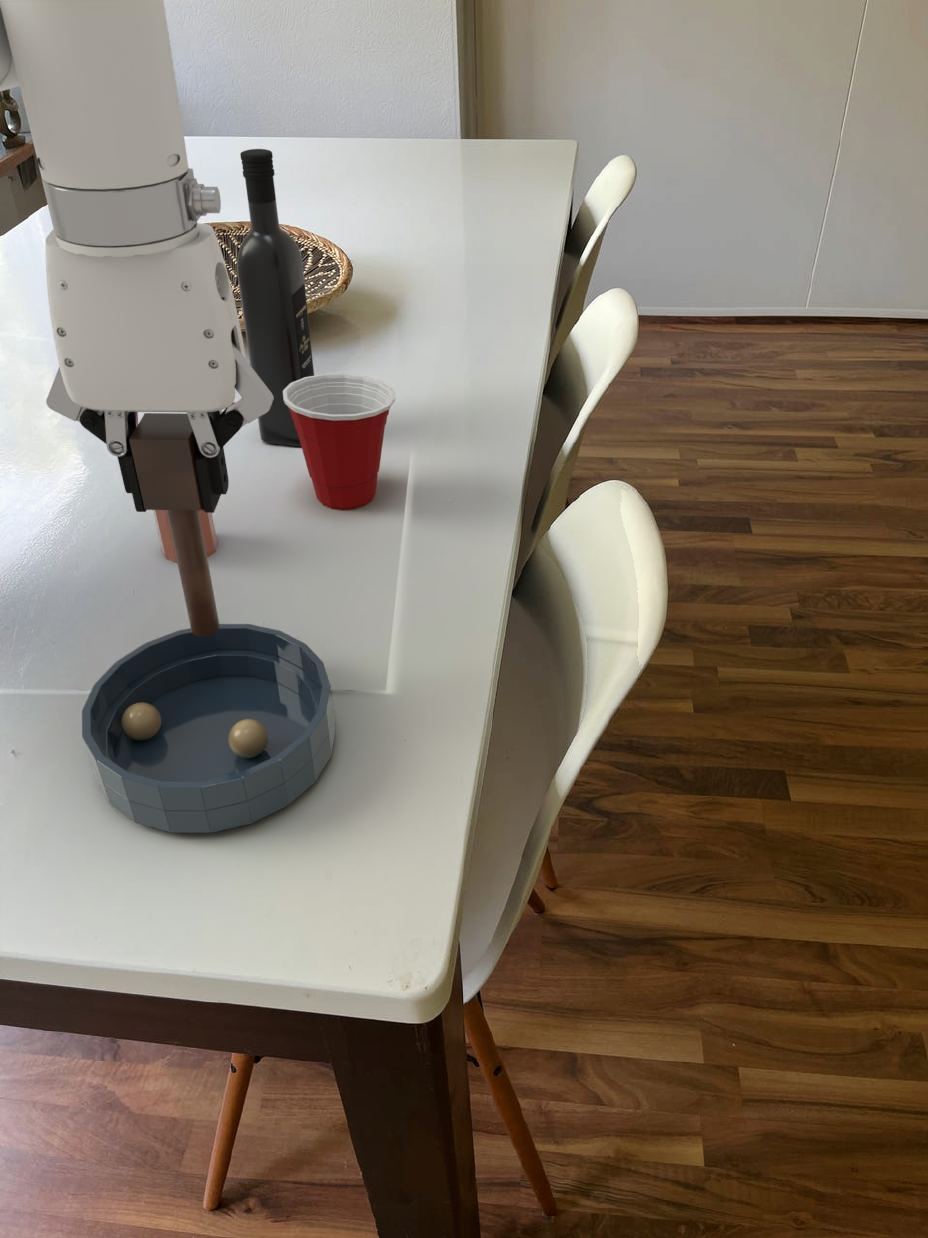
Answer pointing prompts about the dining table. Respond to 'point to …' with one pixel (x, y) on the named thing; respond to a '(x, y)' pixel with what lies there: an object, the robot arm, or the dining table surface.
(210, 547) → the stick holder
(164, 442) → the stick
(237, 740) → the bead
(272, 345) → the wine bottle
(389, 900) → the dining table surface
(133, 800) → the bowl
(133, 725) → the bead
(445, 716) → the dining table surface
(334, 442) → the plastic cup
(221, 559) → the dining table surface
